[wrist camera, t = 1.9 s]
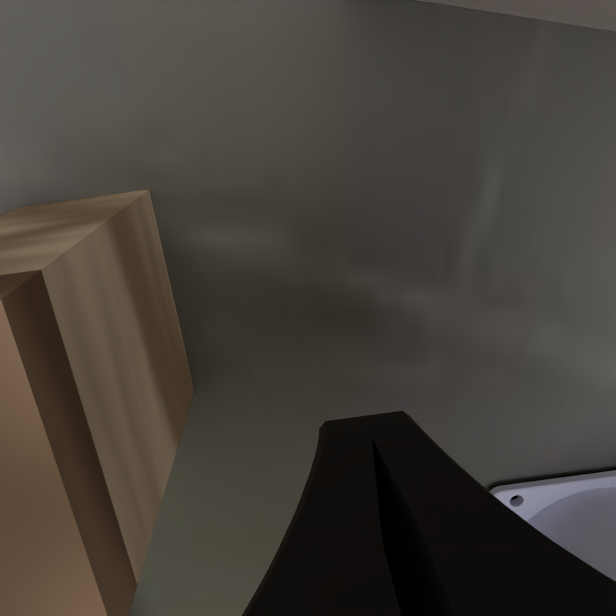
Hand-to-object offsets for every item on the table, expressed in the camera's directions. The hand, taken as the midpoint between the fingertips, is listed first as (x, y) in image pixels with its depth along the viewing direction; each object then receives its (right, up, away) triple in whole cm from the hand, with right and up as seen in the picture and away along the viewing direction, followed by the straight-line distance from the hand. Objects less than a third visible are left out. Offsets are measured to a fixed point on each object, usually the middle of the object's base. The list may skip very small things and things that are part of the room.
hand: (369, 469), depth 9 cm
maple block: (-7, +3, +10) cm, 13 cm away
